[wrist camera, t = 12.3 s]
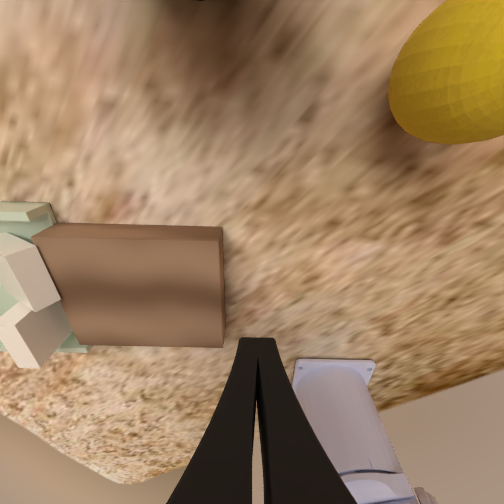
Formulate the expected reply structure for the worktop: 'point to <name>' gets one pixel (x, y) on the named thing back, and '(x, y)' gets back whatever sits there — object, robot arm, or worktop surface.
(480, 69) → the lemon
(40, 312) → the tile far
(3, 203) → the tray
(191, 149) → the worktop surface
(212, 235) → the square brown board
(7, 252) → the tile near
